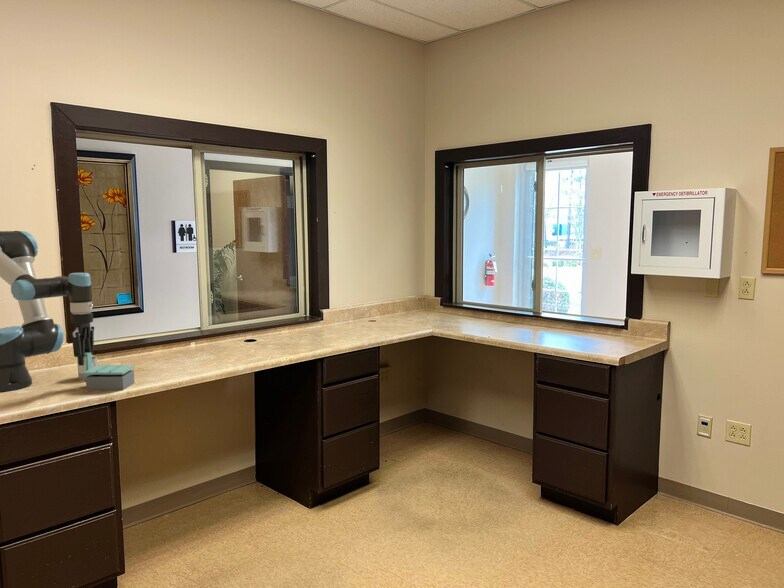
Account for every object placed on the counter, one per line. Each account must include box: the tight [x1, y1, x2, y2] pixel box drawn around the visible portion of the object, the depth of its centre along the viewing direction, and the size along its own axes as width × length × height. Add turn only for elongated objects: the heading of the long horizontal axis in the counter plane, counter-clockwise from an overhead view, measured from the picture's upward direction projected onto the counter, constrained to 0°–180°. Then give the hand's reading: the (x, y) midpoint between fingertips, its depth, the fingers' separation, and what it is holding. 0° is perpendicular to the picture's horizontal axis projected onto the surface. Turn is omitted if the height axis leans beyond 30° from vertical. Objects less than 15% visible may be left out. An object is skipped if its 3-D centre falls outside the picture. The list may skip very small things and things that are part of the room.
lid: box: [76, 353, 136, 375], centre depth 221 cm, size 19×11×7 cm, turn 91°
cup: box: [76, 356, 98, 381], centre depth 234 cm, size 7×10×9 cm
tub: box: [85, 369, 135, 391], centre depth 222 cm, size 14×10×6 cm
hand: (85, 371), depth 221 cm, fingers closed on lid, 3 cm apart
